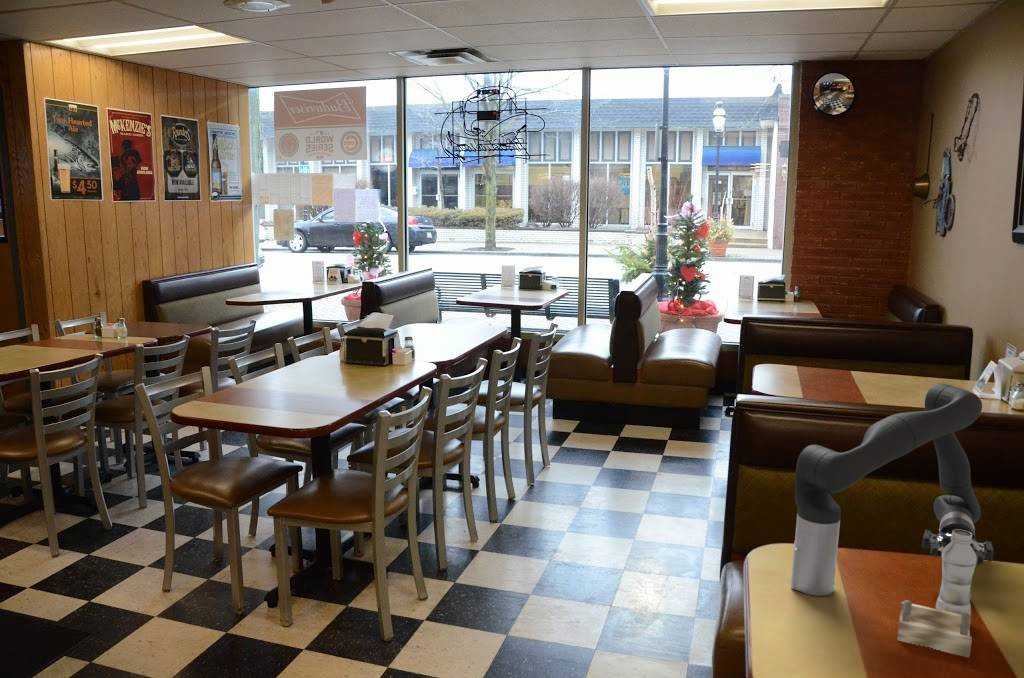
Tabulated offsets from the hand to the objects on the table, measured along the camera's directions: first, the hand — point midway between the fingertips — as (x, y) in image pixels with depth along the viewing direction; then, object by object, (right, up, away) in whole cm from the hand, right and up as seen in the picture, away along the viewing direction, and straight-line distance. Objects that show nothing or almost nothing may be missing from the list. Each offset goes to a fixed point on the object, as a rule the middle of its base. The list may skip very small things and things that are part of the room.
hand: (957, 557), depth 184 cm
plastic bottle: (-6, -12, -8) cm, 15 cm away
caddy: (-13, -13, -15) cm, 23 cm away
